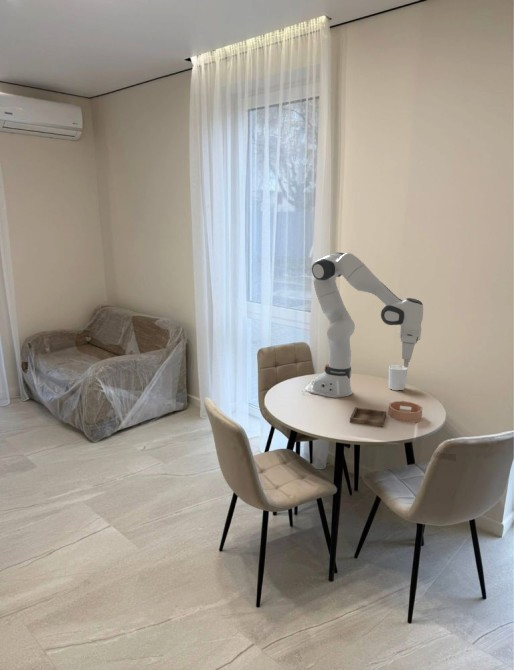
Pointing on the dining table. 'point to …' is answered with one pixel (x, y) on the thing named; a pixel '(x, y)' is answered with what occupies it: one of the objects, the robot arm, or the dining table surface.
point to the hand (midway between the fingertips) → (406, 364)
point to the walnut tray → (368, 417)
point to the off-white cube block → (405, 409)
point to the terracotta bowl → (405, 416)
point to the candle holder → (397, 377)
